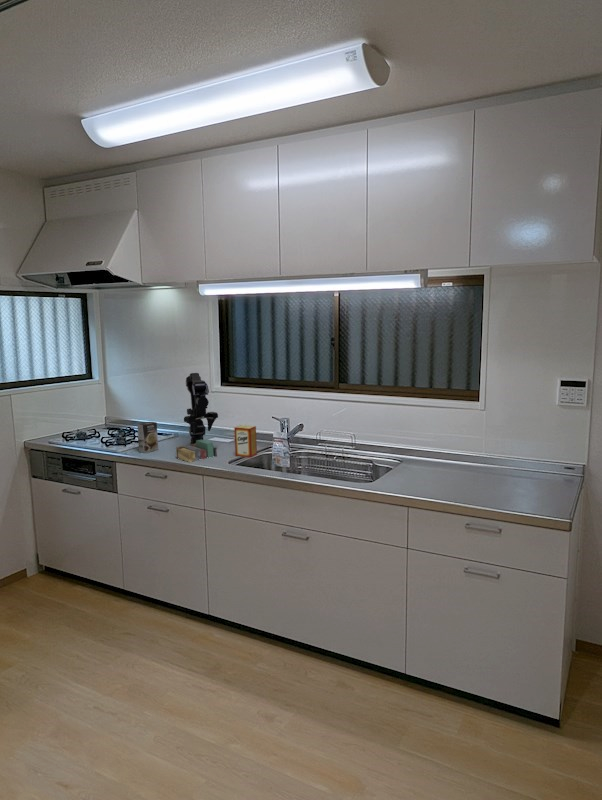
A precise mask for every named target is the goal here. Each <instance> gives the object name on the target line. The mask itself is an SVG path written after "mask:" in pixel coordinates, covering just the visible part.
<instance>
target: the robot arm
mask: <svg viewBox="0 0 602 800" xmlns="http://www.w3.org/2000/svg"><path fill="white" fill-rule="evenodd" d="M185 387H186V389H187V391H188V393H189V394H190V404H191V405H190V406H191V408H186V414H187V415H186V416H184V418H183V422H184V423H187V424H188V425H189V428H188V434H189V436H190V444H195V443H196V441H197V440H204V436H205V435H206V425H205V424H204V421H203V419H205V420H207V431H208V432H211V430H212V426H213V424H214V423H215V421H216V420H217V419H218V418H219V414H218V412H216V411H208V412H207V409H208V406H209V399H208V398H207V396H206V395H208V396H209V393H210V390H209V386H208V383H206V382H205V380H202V377H201V376H200V373H199V372H191V373H189V375H188V376H187V377H186V378H185Z"/></svg>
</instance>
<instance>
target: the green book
mask: <svg viewBox="0 0 602 800" xmlns="http://www.w3.org/2000/svg"><path fill="white" fill-rule="evenodd" d="M213 447H214V442H212V441H209V440H205V439H203V440H197V441H196V448H200V449H203V450H206V457H208V458H207V459H210V458H209V457H211V458H214V457H215V456H214V453H213ZM213 456H214V457H213Z"/></svg>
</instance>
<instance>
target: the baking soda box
mask: <svg viewBox="0 0 602 800" xmlns="http://www.w3.org/2000/svg"><path fill="white" fill-rule="evenodd" d="M257 448H258V447H257V426H256V425H247V424H245V425H243V424H241V425H240V424H239V425H238V426H235V427H234V449H235V450H234V452H235V457H240V458H241V457H244V458H253V457H255V456H257V455H258V453H257V452H258V450H257Z"/></svg>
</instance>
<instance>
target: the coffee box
mask: <svg viewBox="0 0 602 800" xmlns="http://www.w3.org/2000/svg"><path fill="white" fill-rule="evenodd" d="M158 436H159V435H158V423H157V421H156V422H155V421H147V422H141V423H137V440H138V441H137V442H138V452H139V453H143V454H148V453H152V452H155V451H159V439H158ZM151 451H152V452H151Z"/></svg>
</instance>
